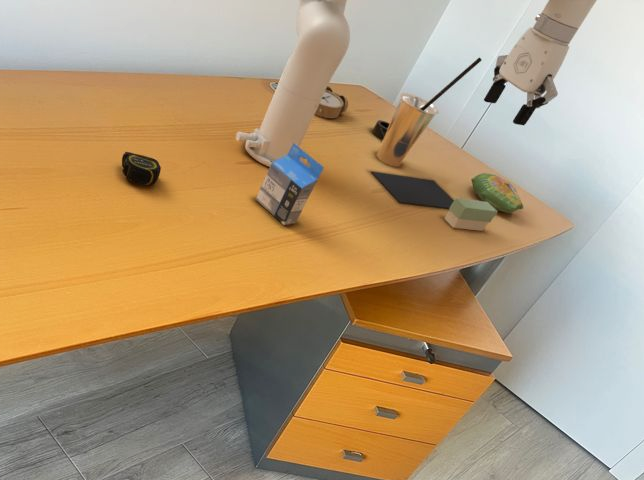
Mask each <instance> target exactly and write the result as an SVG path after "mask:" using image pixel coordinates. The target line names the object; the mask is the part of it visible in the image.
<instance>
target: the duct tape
mask: <svg viewBox="0 0 644 480" xmlns="http://www.w3.org/2000/svg"><path fill="white" fill-rule="evenodd" d="M389 124H390V122H388V121H385V120H377V121H376V123H375V125H374V127H373V129H372V131H371V133H372V134H373V135H374V136H375V137H376V138H378V139H380V140H382V141H383V139H384V137H385V134H386V132H387V129H388V127H389Z"/></svg>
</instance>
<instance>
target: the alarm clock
mask: <svg viewBox="0 0 644 480" xmlns="http://www.w3.org/2000/svg"><path fill="white" fill-rule="evenodd" d="M348 107H349V100H348V98H347V97H346V96H345V95H340V94H338V93H337V92H334V91H333V89H332V88H331V87H330V86H329V85H328V86H327V88H326V90H325V92H324V95H323V97H322V99H321V101H320V104H319V106H318V108H317V110H316V112H315V114H314V116H317V117H321V118H325V119H336V118H338V117H339V115H342V114H344V113H345V112H346V111H347V109H348Z"/></svg>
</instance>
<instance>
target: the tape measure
mask: <svg viewBox="0 0 644 480" xmlns="http://www.w3.org/2000/svg"><path fill="white" fill-rule="evenodd" d="M121 167H122V174H123V175H124V177H125V178H126V179H127V180H129V181H131V182H133V183H135V184H138V185H141V186H142V185H143V186H152V185H155V184H156V183H157V182H158V180H159V177H160V174H161V169H162V167H161V165H160V163H159V161H158V160H157V159H155V158H153V157H150V156H146V155H142V154H138V153H134V152H129V151H125V152H124V153H123V154H122V157H121Z"/></svg>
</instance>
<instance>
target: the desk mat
mask: <svg viewBox="0 0 644 480" xmlns="http://www.w3.org/2000/svg"><path fill="white" fill-rule="evenodd" d="M370 173H371V175H373V176H374V177H375V178H376V180H377V181H378V182H379V183H380V184H381V185H382V186H383V187H384V188H385V189H386V190H387V191H388V193H389V194H390V195H391V196H392V197H393V198H394V199H395V200H396V201H397V202H398V204H405V205H413V206H421V207H429V208H436V209H445V210H449V208H450V206H451V205H452V203H453V202H454V200H455V199H454V198H452V197H451V196H450V195H449V194H448V193H447V191H445V190H444V189H443V188H442V187H441V186H440V185H439V184H438V183H437V182H436V181H435V180H433V179H426V178H419V177H412V176H407V175H399V174H392V173H386V172H379V171H373V170H372V171H371V172H370Z"/></svg>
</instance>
